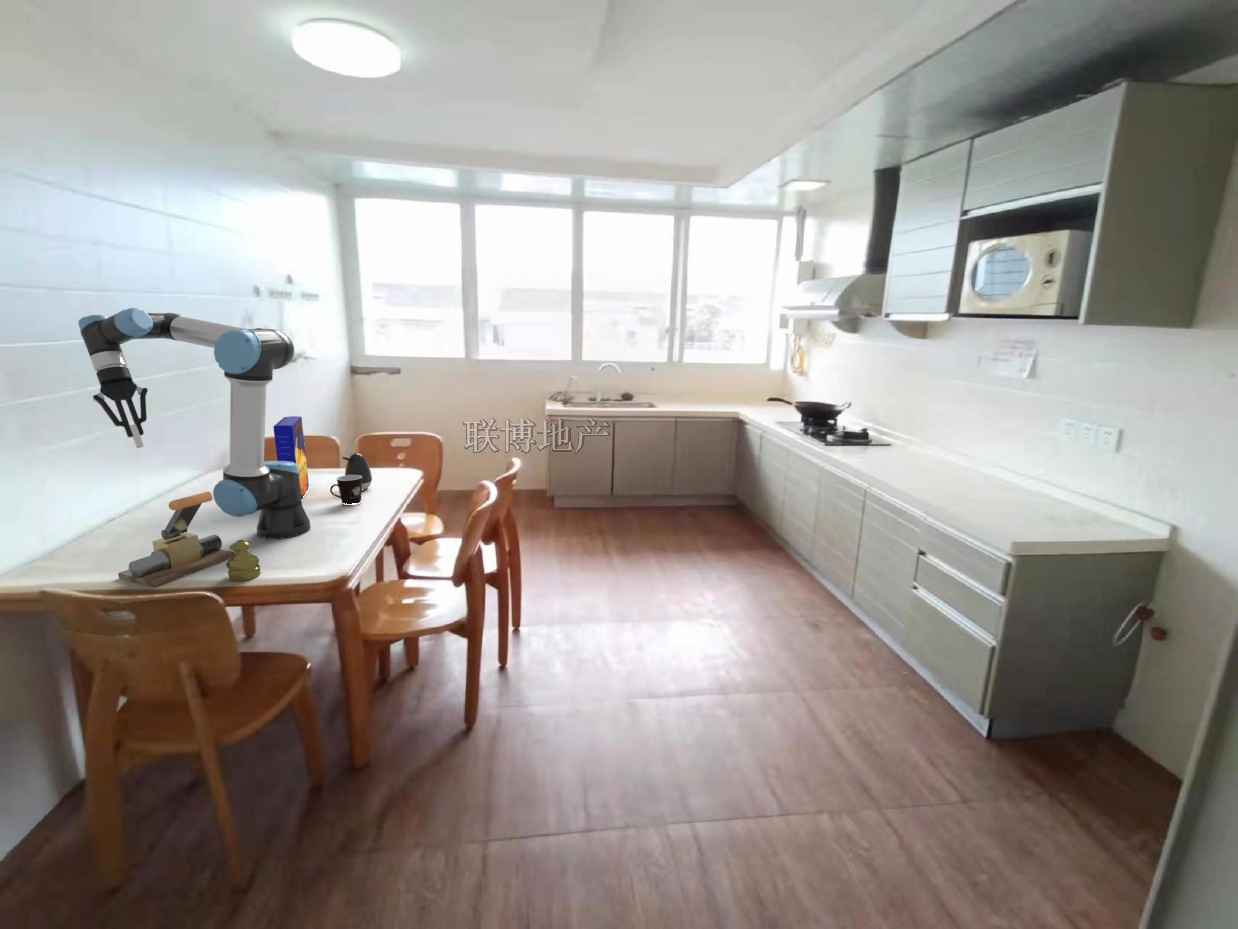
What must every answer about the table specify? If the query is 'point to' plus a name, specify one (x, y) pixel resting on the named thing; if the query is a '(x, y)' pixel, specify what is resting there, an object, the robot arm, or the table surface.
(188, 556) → the pipe valve
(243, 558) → the gold pawn figurine
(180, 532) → the valve lever
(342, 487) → the coffee mug
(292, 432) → the cereal box
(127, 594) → the table surface
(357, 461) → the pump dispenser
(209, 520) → the table surface
